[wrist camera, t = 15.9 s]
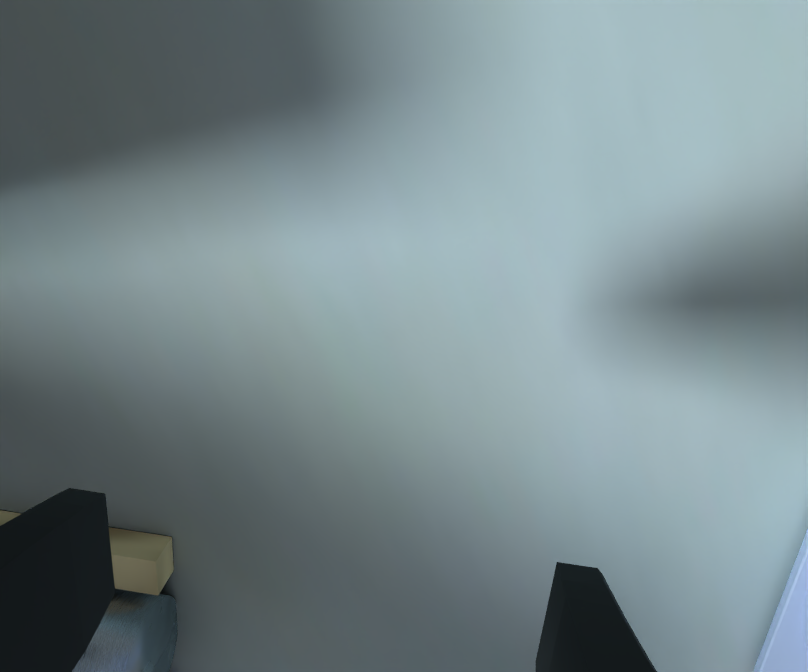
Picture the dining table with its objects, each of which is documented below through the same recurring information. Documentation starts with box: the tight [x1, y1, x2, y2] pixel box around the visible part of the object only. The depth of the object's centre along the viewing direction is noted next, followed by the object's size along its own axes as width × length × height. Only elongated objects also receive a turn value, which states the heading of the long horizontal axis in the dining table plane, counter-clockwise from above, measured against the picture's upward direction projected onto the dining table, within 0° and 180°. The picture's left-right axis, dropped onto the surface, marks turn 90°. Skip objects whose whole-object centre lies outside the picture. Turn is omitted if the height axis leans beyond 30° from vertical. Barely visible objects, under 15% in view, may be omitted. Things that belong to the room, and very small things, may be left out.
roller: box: [72, 589, 178, 672], centre depth 24 cm, size 8×4×4 cm, turn 85°
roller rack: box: [0, 510, 174, 595], centre depth 25 cm, size 8×8×1 cm
